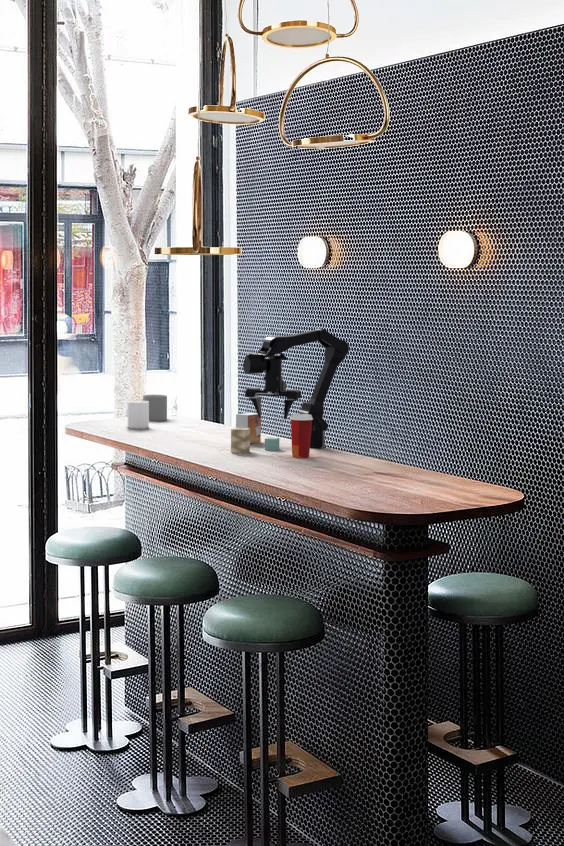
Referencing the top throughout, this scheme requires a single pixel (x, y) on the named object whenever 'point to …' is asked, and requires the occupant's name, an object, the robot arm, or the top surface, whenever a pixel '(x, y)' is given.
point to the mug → (138, 414)
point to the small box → (250, 425)
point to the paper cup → (301, 434)
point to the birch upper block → (240, 434)
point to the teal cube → (271, 443)
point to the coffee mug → (156, 407)
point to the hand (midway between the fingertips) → (272, 418)
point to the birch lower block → (240, 446)
